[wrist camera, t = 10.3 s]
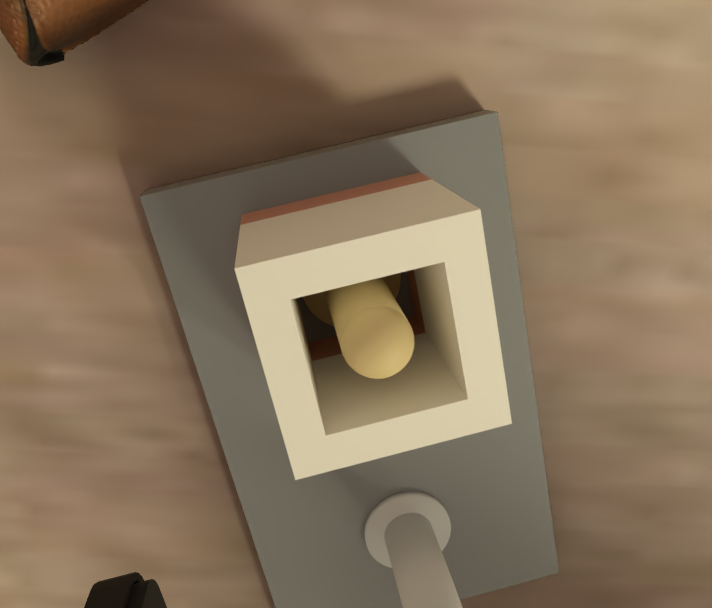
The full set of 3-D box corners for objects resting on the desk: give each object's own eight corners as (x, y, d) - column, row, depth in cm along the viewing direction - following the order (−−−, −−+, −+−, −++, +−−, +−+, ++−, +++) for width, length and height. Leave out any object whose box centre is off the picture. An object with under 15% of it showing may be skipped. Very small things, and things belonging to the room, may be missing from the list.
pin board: (547, 552, 28) (644, 716, 21) (287, 623, 27) (297, 817, 20) (485, 109, 21) (595, 127, 14) (145, 189, 21) (87, 249, 14)
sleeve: (420, 172, 20) (480, 209, 15) (448, 336, 22) (511, 423, 17) (241, 214, 20) (234, 268, 15) (286, 377, 22) (295, 479, 16)
